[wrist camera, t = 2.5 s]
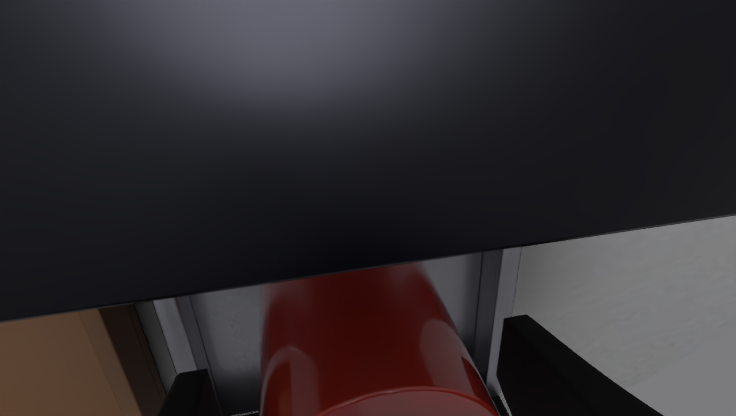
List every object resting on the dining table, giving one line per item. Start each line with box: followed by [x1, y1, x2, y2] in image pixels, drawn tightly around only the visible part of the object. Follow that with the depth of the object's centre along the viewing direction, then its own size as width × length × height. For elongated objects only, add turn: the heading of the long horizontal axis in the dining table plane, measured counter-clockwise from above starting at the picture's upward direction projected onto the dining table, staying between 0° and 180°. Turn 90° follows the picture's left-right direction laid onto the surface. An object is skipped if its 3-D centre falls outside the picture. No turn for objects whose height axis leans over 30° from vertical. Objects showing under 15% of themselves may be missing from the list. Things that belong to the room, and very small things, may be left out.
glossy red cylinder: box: [259, 261, 500, 416], centre depth 12 cm, size 5×5×6 cm
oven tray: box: [152, 247, 522, 416], centre depth 13 cm, size 16×10×3 cm, turn 2°
